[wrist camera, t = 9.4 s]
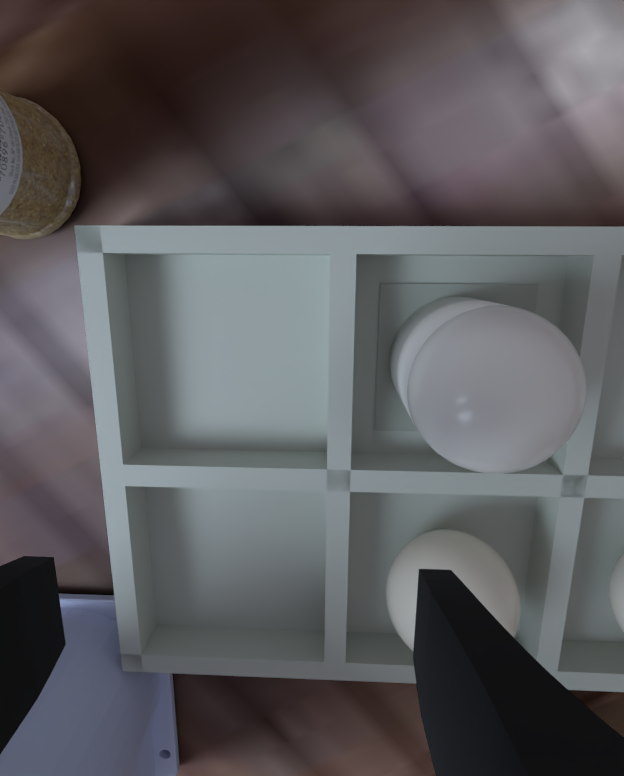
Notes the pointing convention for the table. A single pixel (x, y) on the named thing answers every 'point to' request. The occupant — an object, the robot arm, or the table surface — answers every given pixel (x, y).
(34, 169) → the sprinkles bottle
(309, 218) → the table surface
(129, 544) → the egg tray
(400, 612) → the cream egg middle
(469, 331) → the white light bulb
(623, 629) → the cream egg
